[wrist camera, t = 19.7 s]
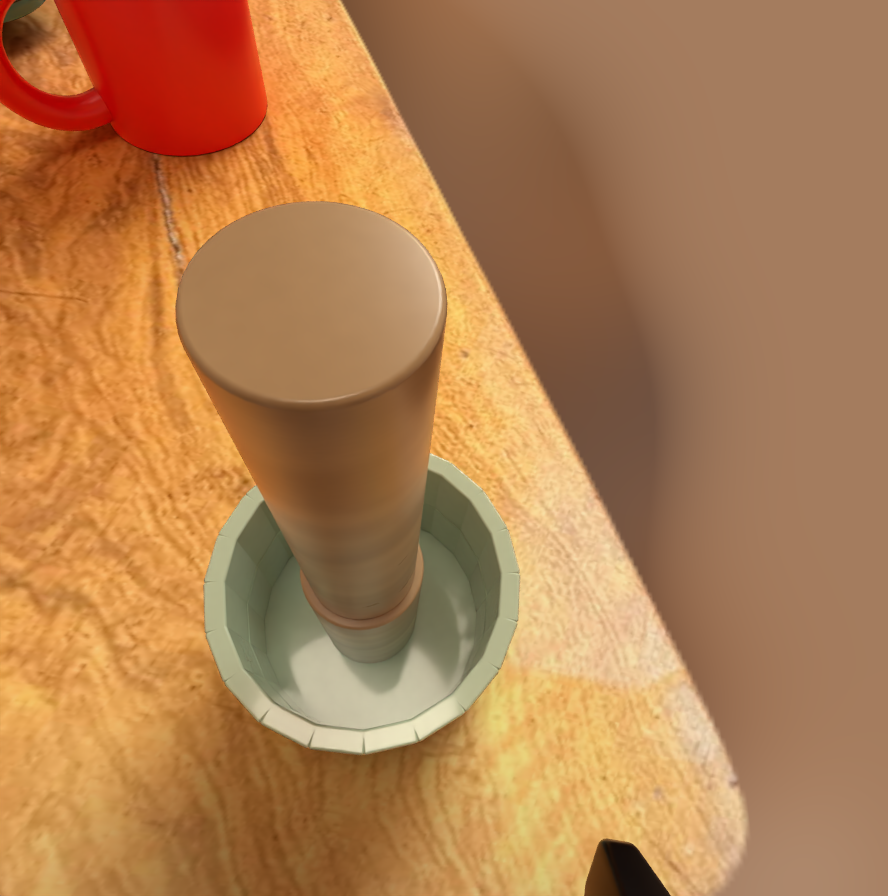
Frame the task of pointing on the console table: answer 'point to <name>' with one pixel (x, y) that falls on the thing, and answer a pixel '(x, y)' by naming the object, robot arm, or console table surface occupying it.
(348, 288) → the tan pestle
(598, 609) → the console table surface
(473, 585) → the bowl
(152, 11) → the mug
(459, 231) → the console table surface
